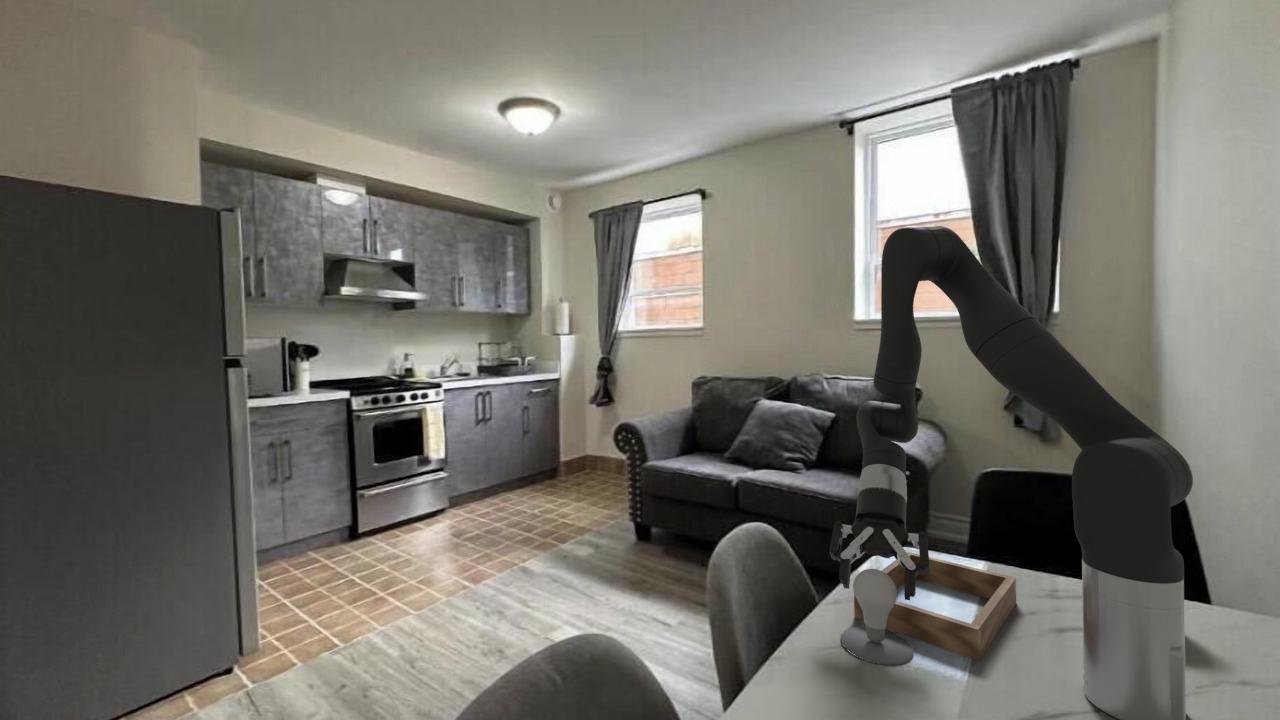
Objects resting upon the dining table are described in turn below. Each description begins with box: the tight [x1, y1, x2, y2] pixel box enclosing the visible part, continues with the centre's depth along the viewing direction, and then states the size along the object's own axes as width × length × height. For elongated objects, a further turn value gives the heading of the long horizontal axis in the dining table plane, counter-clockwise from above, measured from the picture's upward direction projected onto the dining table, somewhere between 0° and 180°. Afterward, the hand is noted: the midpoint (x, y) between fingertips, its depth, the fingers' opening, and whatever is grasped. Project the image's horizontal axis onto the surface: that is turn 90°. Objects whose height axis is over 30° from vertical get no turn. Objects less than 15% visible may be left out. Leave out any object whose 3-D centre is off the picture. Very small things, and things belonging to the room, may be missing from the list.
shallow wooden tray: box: [853, 551, 1017, 662], centre depth 90 cm, size 18×24×4 cm
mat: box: [840, 625, 914, 666], centre depth 80 cm, size 10×10×1 cm
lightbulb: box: [852, 568, 898, 643], centre depth 80 cm, size 6×6×11 cm
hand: (875, 592), depth 80 cm, fingers open, 8 cm apart
